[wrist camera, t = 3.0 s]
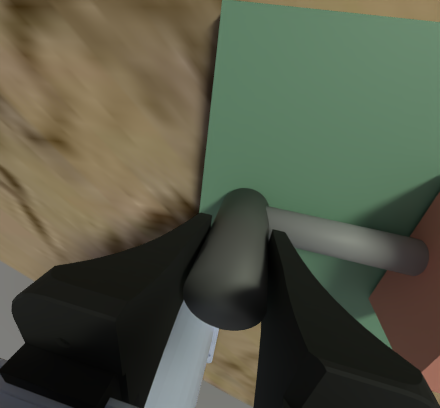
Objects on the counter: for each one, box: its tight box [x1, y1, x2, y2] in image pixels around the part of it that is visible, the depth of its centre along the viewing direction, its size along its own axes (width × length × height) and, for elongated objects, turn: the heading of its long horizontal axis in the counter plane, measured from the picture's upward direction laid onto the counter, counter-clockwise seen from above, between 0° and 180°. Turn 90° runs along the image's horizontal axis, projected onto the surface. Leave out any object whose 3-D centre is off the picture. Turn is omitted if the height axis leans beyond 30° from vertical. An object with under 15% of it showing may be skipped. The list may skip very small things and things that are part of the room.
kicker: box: [183, 188, 440, 393], centre depth 10 cm, size 9×13×7 cm
